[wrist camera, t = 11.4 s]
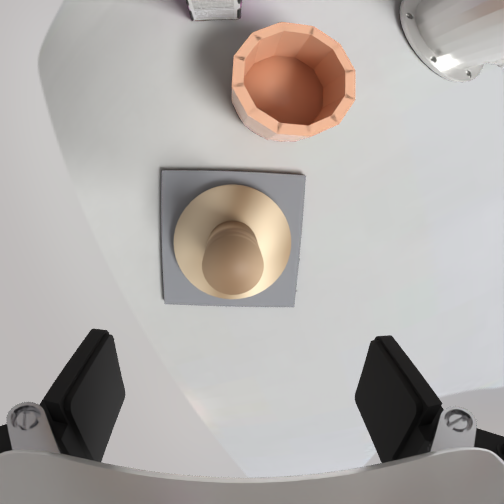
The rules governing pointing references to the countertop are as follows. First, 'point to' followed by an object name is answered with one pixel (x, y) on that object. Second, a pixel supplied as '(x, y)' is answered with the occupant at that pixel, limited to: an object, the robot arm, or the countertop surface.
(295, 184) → the mat
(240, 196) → the lid
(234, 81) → the bowl
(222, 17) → the candy bar box
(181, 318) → the countertop surface
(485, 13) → the robot arm
